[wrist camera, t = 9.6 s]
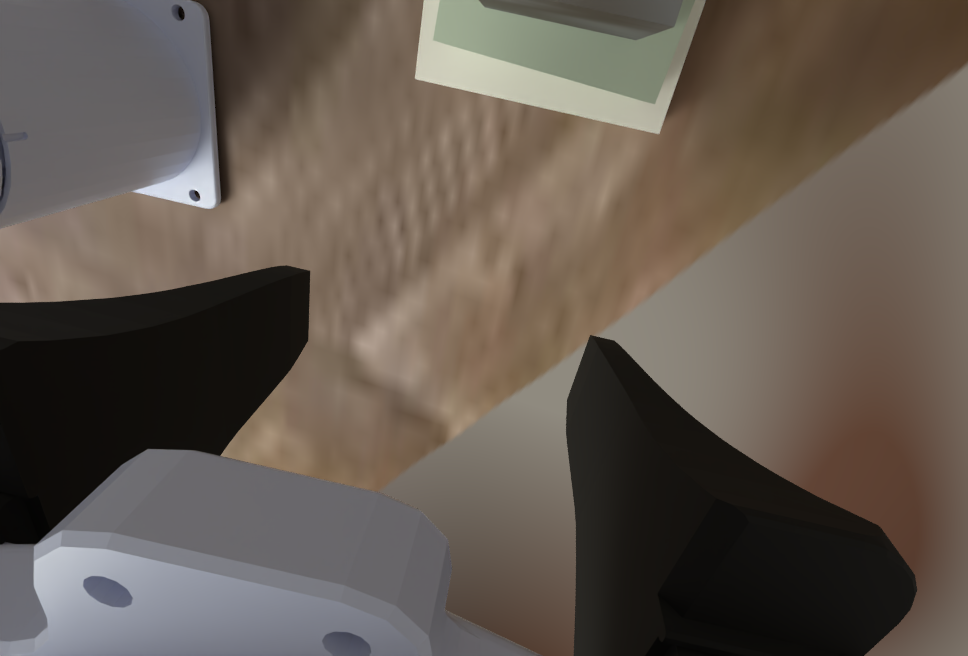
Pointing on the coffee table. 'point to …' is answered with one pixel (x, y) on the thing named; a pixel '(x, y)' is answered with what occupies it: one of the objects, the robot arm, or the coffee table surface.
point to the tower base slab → (545, 79)
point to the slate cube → (599, 14)
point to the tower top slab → (563, 47)
